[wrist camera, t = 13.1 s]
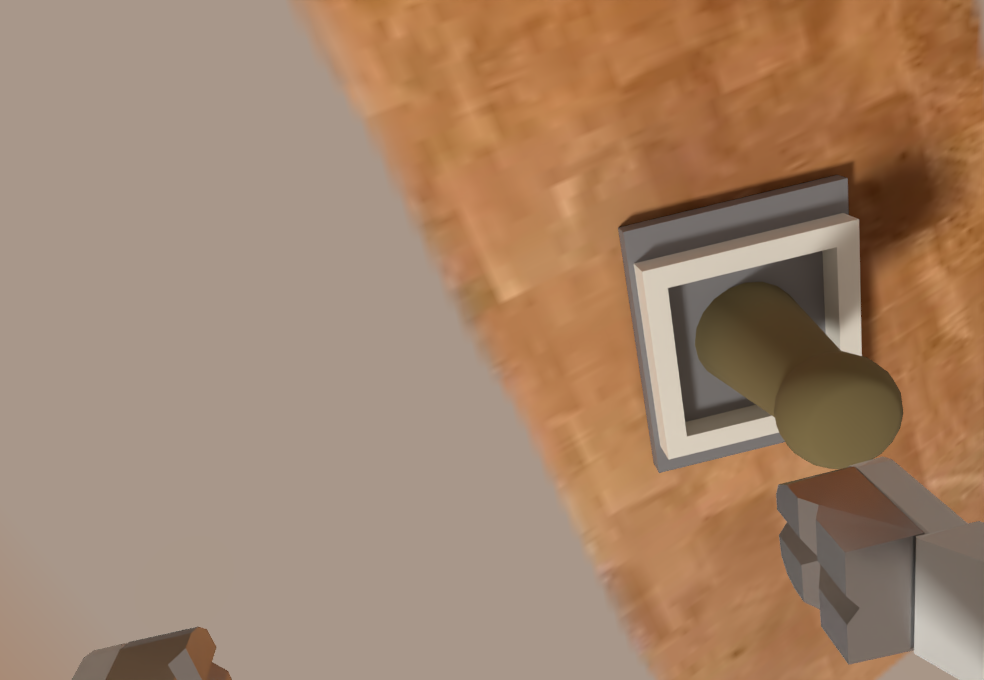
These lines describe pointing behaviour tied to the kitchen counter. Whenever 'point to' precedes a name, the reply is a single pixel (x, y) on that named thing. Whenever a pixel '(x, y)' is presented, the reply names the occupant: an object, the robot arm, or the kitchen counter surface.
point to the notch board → (711, 271)
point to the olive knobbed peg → (799, 376)
